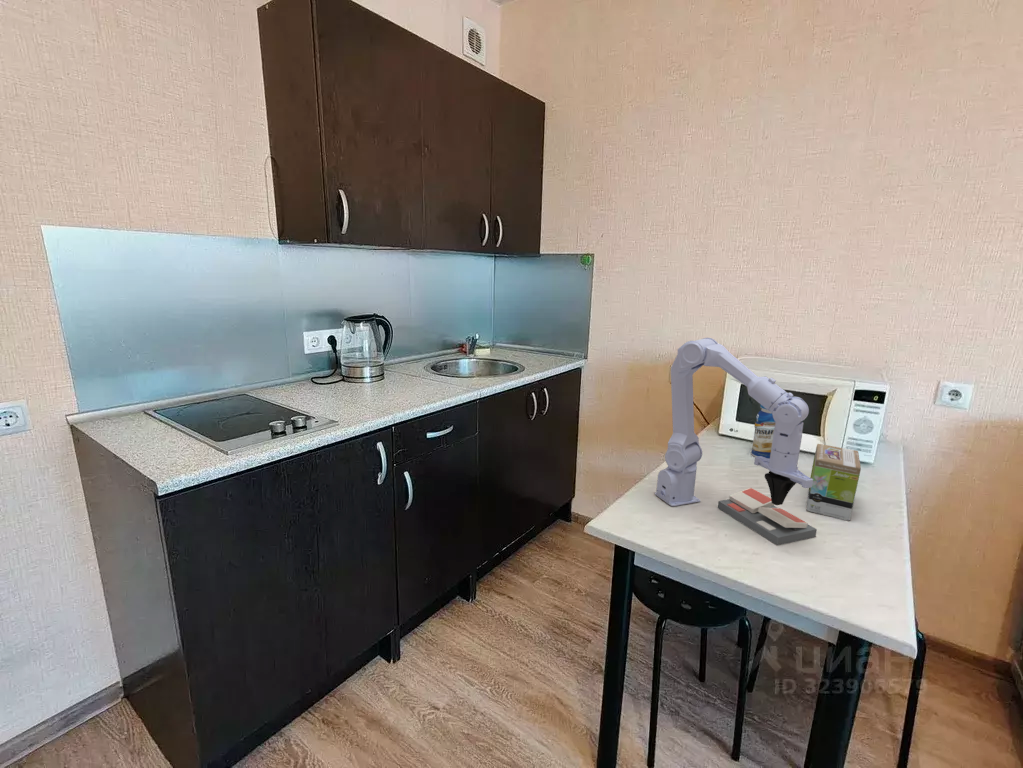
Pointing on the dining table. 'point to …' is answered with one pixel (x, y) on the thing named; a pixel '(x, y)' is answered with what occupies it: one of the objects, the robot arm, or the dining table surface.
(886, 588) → the dining table surface
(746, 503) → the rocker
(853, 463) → the tea box
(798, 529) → the switch panel
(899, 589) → the dining table surface
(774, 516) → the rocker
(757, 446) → the beverage bottle
